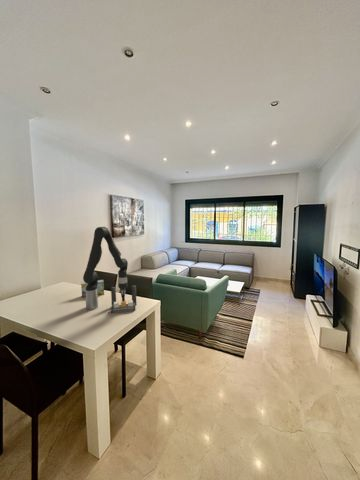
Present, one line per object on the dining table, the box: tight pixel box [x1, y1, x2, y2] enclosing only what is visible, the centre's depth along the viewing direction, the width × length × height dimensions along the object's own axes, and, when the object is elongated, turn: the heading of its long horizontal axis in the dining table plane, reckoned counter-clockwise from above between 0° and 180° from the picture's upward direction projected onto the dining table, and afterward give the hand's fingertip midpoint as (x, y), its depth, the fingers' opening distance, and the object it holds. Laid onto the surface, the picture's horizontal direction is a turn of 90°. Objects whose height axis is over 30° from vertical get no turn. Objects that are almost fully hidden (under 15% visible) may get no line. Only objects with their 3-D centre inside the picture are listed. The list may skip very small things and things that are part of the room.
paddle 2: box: [127, 299, 133, 306], centre depth 173 cm, size 4×4×4 cm
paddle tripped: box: [120, 300, 127, 307], centre depth 171 cm, size 4×4×4 cm
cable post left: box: [110, 286, 117, 306], centre depth 178 cm, size 4×4×18 cm
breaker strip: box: [110, 302, 136, 314], centre depth 171 cm, size 20×7×5 cm, turn 103°
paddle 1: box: [114, 301, 120, 308], centre depth 170 cm, size 4×4×4 cm
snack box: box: [80, 279, 105, 298], centre depth 204 cm, size 21×6×15 cm, turn 112°
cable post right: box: [131, 285, 137, 306], centre depth 182 cm, size 4×4×18 cm
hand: (123, 300), depth 171 cm, fingers closed
